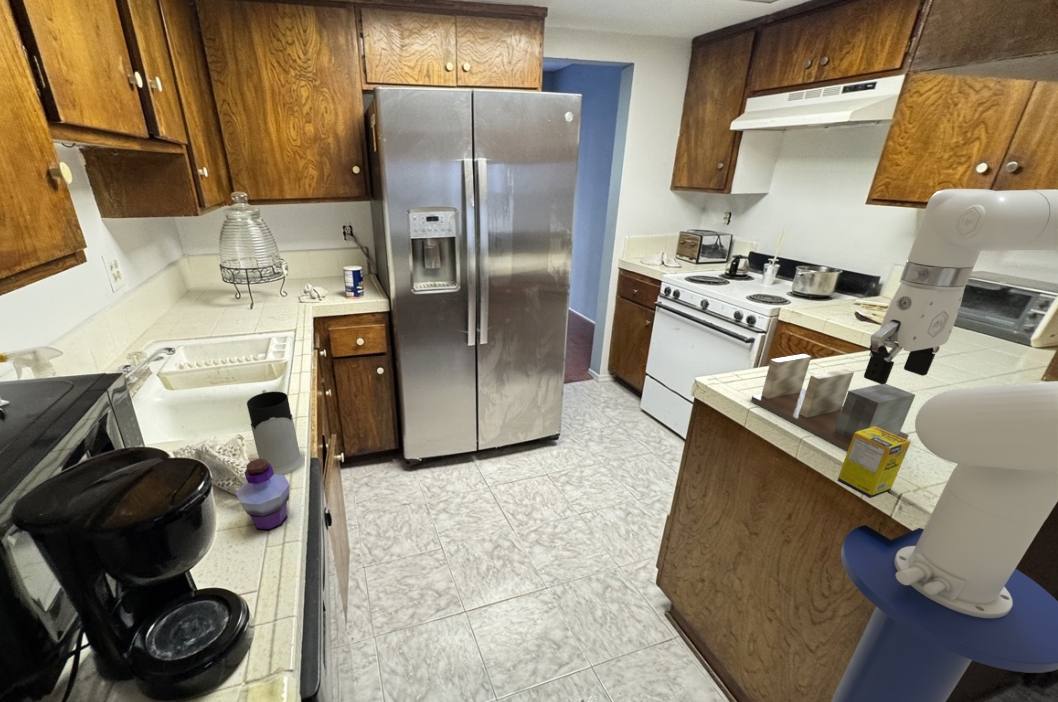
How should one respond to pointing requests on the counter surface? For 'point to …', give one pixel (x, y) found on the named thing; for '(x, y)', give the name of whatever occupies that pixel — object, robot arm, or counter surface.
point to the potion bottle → (264, 495)
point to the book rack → (831, 401)
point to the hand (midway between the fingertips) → (894, 376)
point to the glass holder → (274, 431)
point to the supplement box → (873, 461)
